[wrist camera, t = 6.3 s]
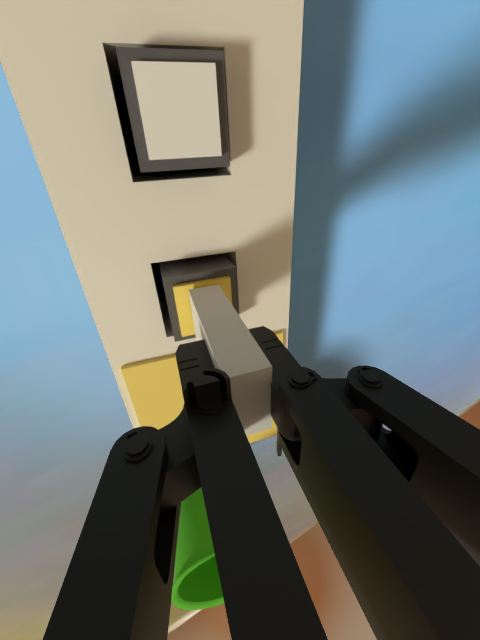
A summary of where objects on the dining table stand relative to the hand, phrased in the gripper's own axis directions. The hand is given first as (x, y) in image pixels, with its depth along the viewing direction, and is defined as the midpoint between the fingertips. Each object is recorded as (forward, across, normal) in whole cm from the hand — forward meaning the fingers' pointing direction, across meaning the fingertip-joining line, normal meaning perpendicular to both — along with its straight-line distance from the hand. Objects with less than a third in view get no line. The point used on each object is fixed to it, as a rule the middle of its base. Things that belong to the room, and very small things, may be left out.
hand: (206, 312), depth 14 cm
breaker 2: (+7, 0, 0) cm, 7 cm away
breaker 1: (+7, 0, +8) cm, 10 cm away
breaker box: (+7, 0, 0) cm, 7 cm away
